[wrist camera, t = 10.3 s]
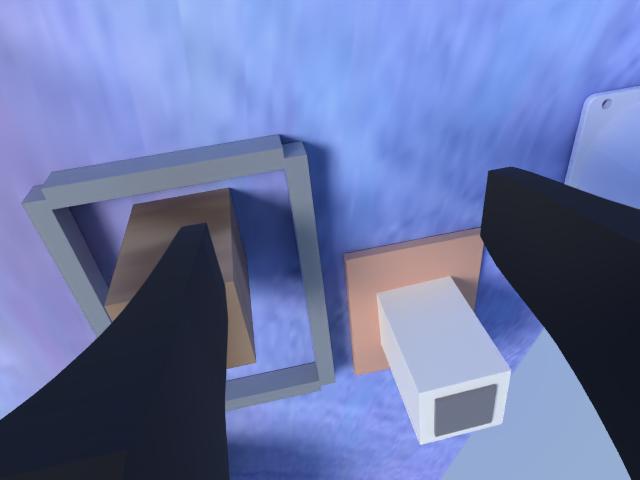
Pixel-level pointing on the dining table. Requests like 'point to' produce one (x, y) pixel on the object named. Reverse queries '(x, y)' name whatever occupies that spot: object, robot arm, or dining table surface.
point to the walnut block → (156, 235)
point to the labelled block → (442, 360)
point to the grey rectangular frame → (173, 172)
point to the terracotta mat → (404, 283)
